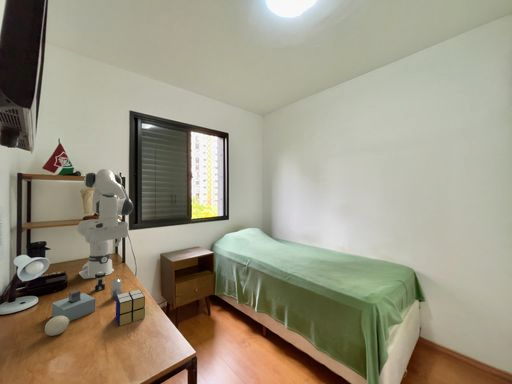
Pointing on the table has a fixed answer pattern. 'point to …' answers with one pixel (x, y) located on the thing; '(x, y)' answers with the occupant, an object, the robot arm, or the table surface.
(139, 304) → the puzzle cube
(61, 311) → the socket block
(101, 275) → the push button
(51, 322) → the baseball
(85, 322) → the table surface
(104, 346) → the table surface
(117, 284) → the round bit
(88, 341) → the table surface
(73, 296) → the square bit
